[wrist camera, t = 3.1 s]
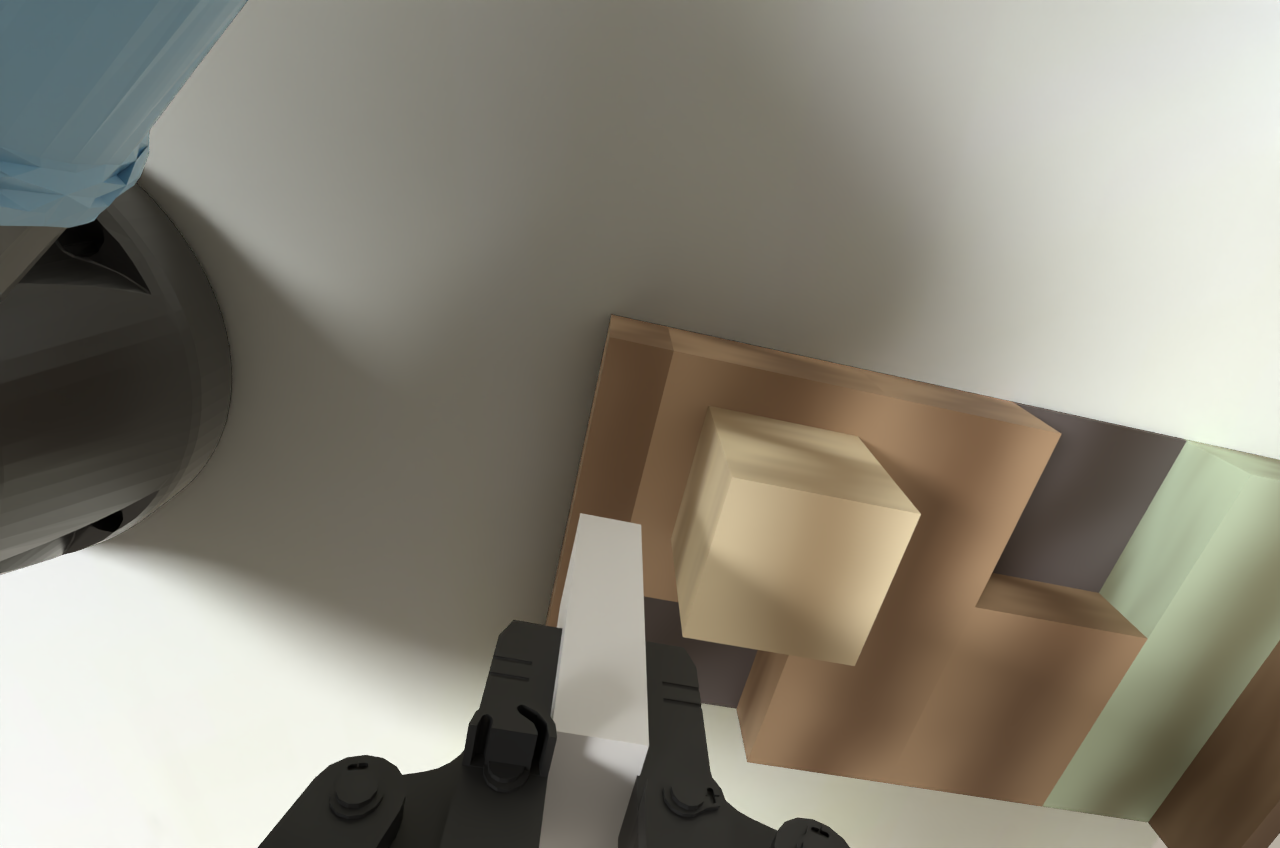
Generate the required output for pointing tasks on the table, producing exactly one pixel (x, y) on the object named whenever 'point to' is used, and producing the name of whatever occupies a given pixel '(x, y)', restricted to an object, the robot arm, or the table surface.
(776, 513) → the maple block
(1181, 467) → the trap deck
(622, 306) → the table surface
